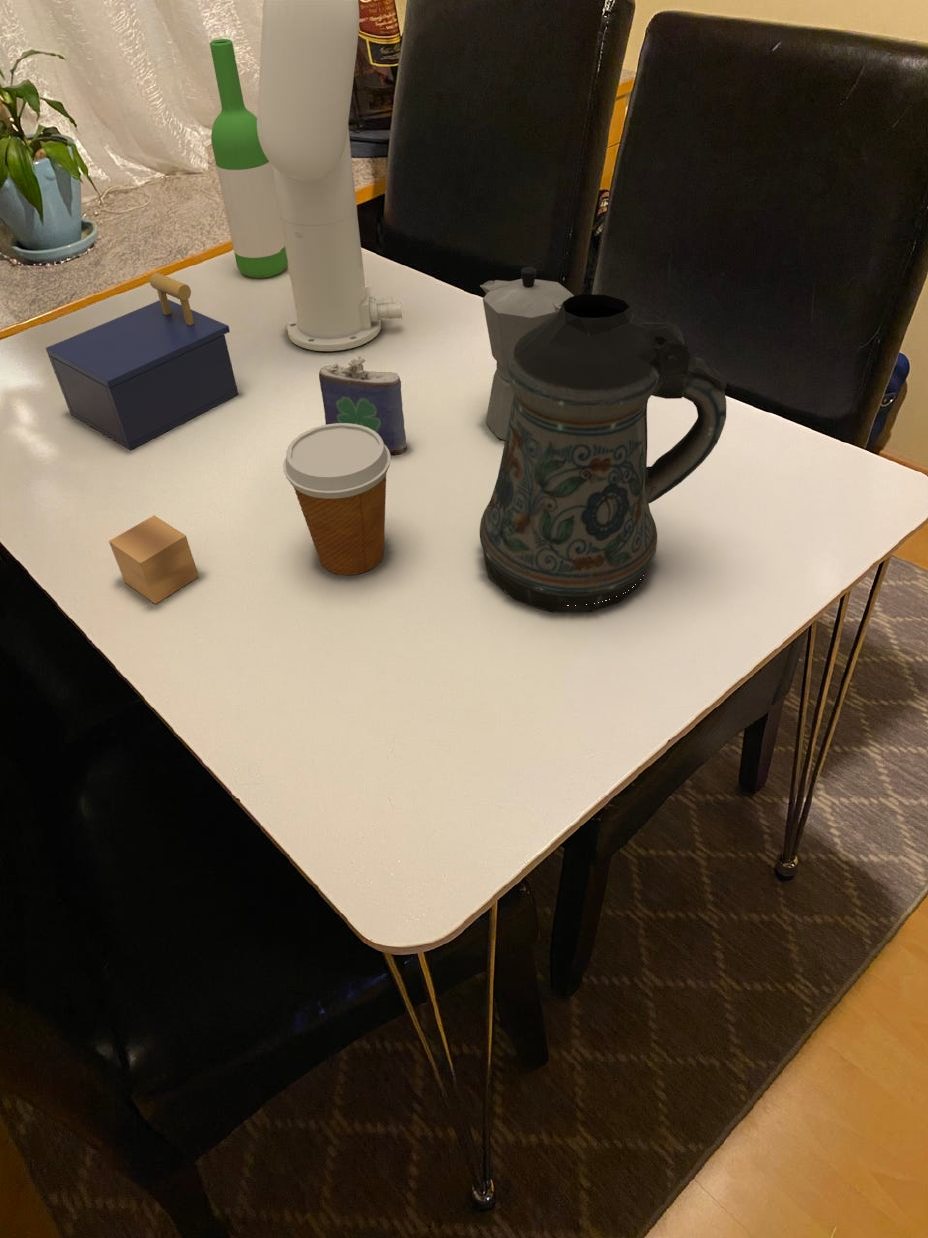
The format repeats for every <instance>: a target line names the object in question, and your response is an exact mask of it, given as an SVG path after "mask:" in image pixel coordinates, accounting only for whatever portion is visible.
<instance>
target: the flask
mask: <svg viewBox="0 0 928 1238" xmlns="http://www.w3.org/2000/svg"><path fill="white" fill-rule="evenodd" d="M365 362H366V359H365V357H362V356H360V355H359V356H357V358H352V359H351V358H350V359H349V361H348V362H347V364H348V367H345V366H342V365H339V364H338V363H333V364H329V365H325V366H322V367H321V368H320V369H319V371H318V378H319V384H320V392H321V397H322V404H323V412H324V419H325V425H328V424H335V423H350V424H357V425H361V426H364V427H368V428H370V429H372V430H374V431H375V432H376V433H378V434H379V436H380V437H381V438H382V440H383V443H384V444H385V445H386V447H387V448H388V450H389V452H390V456H392V455H401V454H402V453H404V452H405V451H406V449H407V436H406V429H405V417H404V411H403V397H402V381H401V377H400V375H399V374H398V373H397V372H393V371H373V370H372V371H369V370H365V369H364V363H365Z"/></svg>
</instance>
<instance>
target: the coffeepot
mask: <svg viewBox="0 0 928 1238" xmlns="http://www.w3.org/2000/svg"><path fill="white" fill-rule="evenodd" d="M537 271H538V269H536V268H535V267H530V266H527V267H523V268H522V269H521V270H520V275H521V278H520V279H515V280H501V279H500V280H499V279H495V280H488V281H485V282H484V283H483V284H480V285H479V287H480V288H481V289H482V290H483V292H484V294H485V296H483V298H482V303H483V310H484V315H485V316H484V317H485V321H486V328H487V333H488V339H489V344H490V351H491V356H492V357H493V359H494V361H496V370H495V371H494V374H493V376H492V383H491V389H490V394H489V401H488V406H487V413H486V418H485V424H486V425H487V427H488V428H489V430H490V431H491V433H492V434H493V435H494V436H496V437H497V438H498V439H500V440H502V441H505V439H506V433H507V427H508V421H509V416H510V410H511V405H512V399H513V393H514V392H513V390H512V388H511V386H510V381H509V376H508V369H507V359H508V355H509V352H510V350H511V349H512V347H513V346H514V345H515V344H516V343H517V341H518V340H519V339H520V338H521V337H522V336H523V335H525V334H526V333H528V332H529V331H531V330H532V329H534V328H535V327H536V326H538V325H540V324H541V323H543V322H545V321H546V320H548V319H549V318H551V317H552V316H553V315H555V314H556V313H558V312H559V310H560V308H561V305H562V303H563V302H564V301H565V300H567V299H568V298H570V297H573V296H575V295H574V294H573V293H572V292H570V291H569V290H568V289H567V288H565V286H563V285H562V284H560V283H559V282H558V281H552V280H544V279H536V276H537Z"/></svg>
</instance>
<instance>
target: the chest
mask: <svg viewBox="0 0 928 1238" xmlns="http://www.w3.org/2000/svg"><path fill="white" fill-rule="evenodd" d="M47 356H48V358H49V362H50V365H51V367H52V369H53V372H54V374H55V377H56V379H57V382H58V385H59V387H60V390H61V393H62V395H63V398H64V401H65V403H66V405H67V408H68V411H69V413H70V415H71V416H73V417H75V418H76V419H78V420H79V421H81V422H82V423H84V424H86V425H88V427H91V428H92V429H94V430H96V431H98V432H99V433H101V434H102V435H104V436H106V437H108V438H109V439H111V440H113V441H114V442H116V443H118V444H119V445H121V446H123V447H125V449H128V450H130V451H132V450H134V449H136V448H137V447H140V446H142V445H144V444H145V443H147V442H149V441H151V440H153V439H155V438H157V437H159V436H161V435H163V434H165V433H167V432H169V431H171V430H173V429H174V428H176V427H179V426H180V425H182V424H184V423H186V422H188V421H190V420H193V419H194V418H196V417H198V416H200V415H202V414H204V413H206V412H208V411H210V410H212V409H213V408H215V407H217V406H219V405H222V404H223V403H225V402H227V401H229V400H231V399H233V398H236V397H237V396H238V395H239V390H238V385H237V382H236V378H235V373H234V369H233V365H232V360H231V356H230V352H229V347H228V343H227V339H226V334H224V335H222V336H220V337H218V338H216V339H214V340H211V341H209V342H207V343H205V344H203V345H201V346H199V347H196V348H194V349H192V350H190V351H188V352H186V353H184V354H181V355H179V356H177V357H175V358H173V359H171V360H168V361H166V362H164V363H162V364H160V365H158V366H156V367H153V368H151V369H149V370H147V371H145V372H143V373H141V374H138V375H136V376H134V377H132V378H130V379H128V380H126V381H123V382H121V383H119V384H117V385H115V386H113V387H110V388H109V387H107V386H105V385H103V384H101V383H99V382H98V381H96V380H94V379H92V378H90V377H88V376H87V375H85V374H83V373H81V372H79V371H78V370H76V369H74V368H72V367H70V366H68V365H67V364H65V363H63V362H61V361H59V360H57V359H56V358H54V357H52V356H50V355H48V354H47Z"/></svg>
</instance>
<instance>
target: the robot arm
mask: <svg viewBox="0 0 928 1238" xmlns="http://www.w3.org/2000/svg"><path fill="white" fill-rule="evenodd" d="M359 3H360V2H359V0H263V5H262V18H261V19H262V20H261V39H260V40H261V41H260V56H259V57H260V58H259V74H258V75H259V78H258V92H257V93H258V94H257V114H256V117H257V133H258V138H259V142H260V145H261V148H262V150H263V152H264V154H265V156H266V157H267V159H268V160H269V162H270V163H271V164H272V168H273V175H274V182H275V188H276V195H277V201H278V207H279V212H280V220H281V225H282V231H283V237H284V243H285V249H286V255H287V261H288V264H287V267H288V271H289V278H290V284H291V288H292V289H291V290H292V294H293V295H292V296H293V301H294V307H295V313H296V314H295V315H293V317H291V319H289V321H288V323H287V328H286V330H287V334H288V338H289V340H290V341H291V342H292V343H293V344H295V345H296V346H298V347H300V348H302V349H306V350H310V351H316V352H339V351H345V350H350V349H353V348H357V347H360V346H362V345H365V344H367V343H369V342H371V341H372V340H373V339H374V338H376V337H377V336H378V335H379V333H380V332H381V329H382V319H383V320H384V319H389V320H394V319H403V311H402V302H395V303H394V300H393V297H382V298H376V296H371V291H370V290H371V289H370V287H369V286H366V279H365V271H364V261H363V254H362V245H361V244H362V243H361V236H360V235H361V234H360V227H359V225H360V224H359V219H358V218H359V217H358V206H357V204H358V203H357V196H356V188H355V179H354V170H353V160H352V151H351V139H350V138H351V137H350V127H349V120H350V113H351V112H350V111H351V105H352V96H353V87H354V86H353V85H354V78H355V69H356V61H357V52H358V44H359V32H360V5H359Z"/></svg>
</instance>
